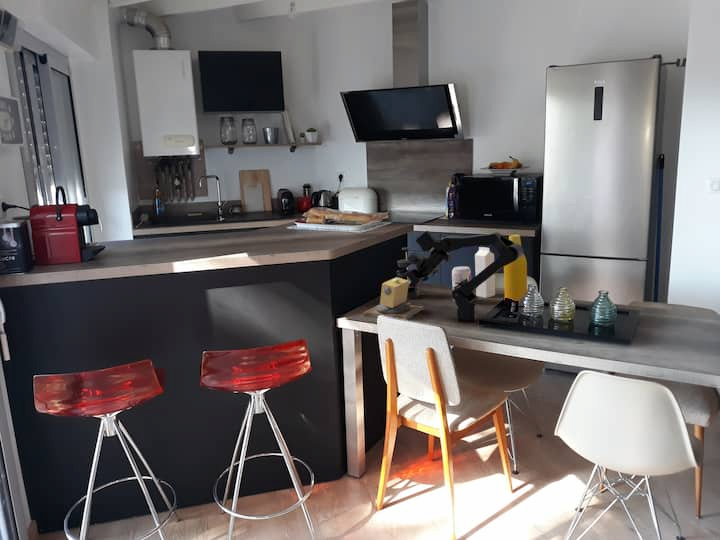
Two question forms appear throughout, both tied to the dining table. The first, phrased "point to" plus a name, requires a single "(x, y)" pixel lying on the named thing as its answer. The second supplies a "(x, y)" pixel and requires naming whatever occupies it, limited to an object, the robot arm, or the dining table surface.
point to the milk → (481, 262)
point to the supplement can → (460, 275)
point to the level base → (401, 315)
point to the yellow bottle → (515, 275)
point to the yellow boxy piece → (394, 292)
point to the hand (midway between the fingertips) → (410, 286)
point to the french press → (405, 263)
